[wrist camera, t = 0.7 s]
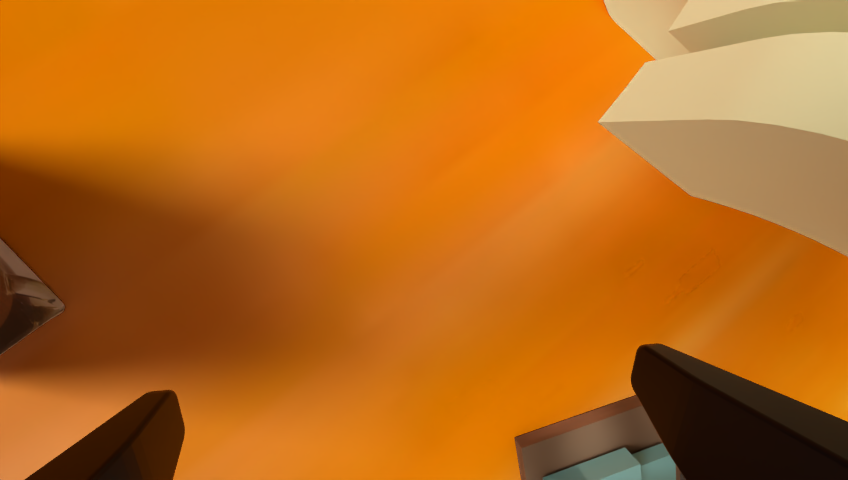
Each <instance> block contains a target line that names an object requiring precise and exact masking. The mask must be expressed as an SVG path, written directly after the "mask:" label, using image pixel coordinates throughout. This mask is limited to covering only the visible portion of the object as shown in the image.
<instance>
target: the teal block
mask: <svg viewBox="0 0 848 480" xmlns="http://www.w3.org/2000/svg"><path fill="white" fill-rule="evenodd" d="M543 480H676V464H675V463H674V461H673V460H672V458H671V456H670V455H669V453H668V451H667V450H666V448H665V446H664V444H663V443H661V444H658V445H656V446H653V447H650V448H648V449H645V450H642V451H640V452H637V453H634V454H631V453H630V452H629V451H628V450H627V449H626V448H625V447H624V448H622V449H619V450H616V451H613V452H611V453H608V454H605V455H603V456H600V457H597V458H594V459H592V460H589V461H586V462H584V463H581V464H578V465H575V466H573V467H570V468H567V469H565V470H562V471H559V472H557V473H554V474H551V475H548V476H546V477H543Z"/></svg>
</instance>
